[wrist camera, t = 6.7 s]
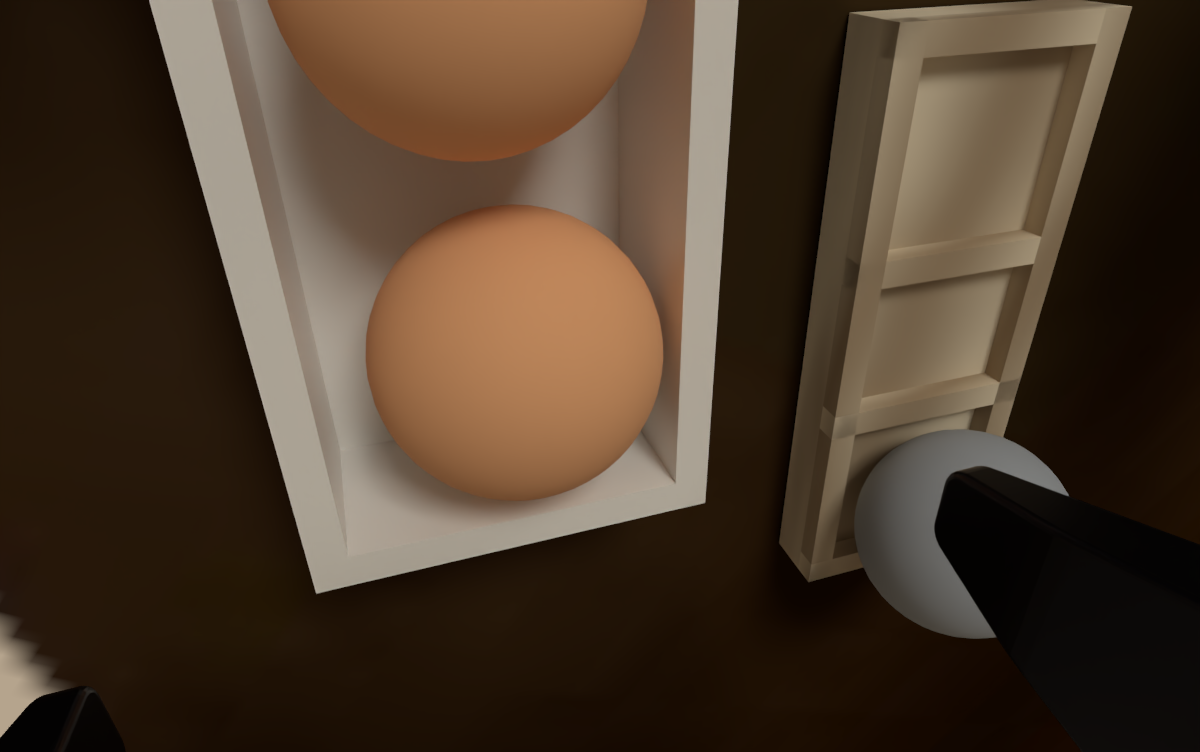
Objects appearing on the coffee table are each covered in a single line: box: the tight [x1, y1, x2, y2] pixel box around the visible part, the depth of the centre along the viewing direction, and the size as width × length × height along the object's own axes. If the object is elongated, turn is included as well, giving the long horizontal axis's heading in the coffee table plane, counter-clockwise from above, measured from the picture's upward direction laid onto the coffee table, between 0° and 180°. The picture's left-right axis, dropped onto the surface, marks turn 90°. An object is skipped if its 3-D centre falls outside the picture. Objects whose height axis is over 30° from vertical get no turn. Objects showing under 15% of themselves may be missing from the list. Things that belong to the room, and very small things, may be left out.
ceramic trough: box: [149, 0, 738, 593], centre depth 12 cm, size 7×12×4 cm, turn 1°
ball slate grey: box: [854, 429, 1069, 639], centre depth 18 cm, size 5×5×5 cm
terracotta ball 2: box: [366, 204, 663, 501], centre depth 13 cm, size 5×5×5 cm
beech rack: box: [779, 0, 1132, 582], centre depth 18 cm, size 5×13×2 cm, turn 1°
